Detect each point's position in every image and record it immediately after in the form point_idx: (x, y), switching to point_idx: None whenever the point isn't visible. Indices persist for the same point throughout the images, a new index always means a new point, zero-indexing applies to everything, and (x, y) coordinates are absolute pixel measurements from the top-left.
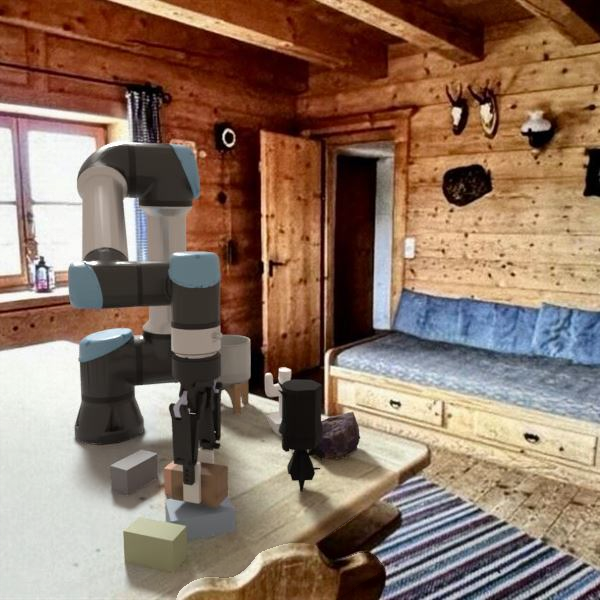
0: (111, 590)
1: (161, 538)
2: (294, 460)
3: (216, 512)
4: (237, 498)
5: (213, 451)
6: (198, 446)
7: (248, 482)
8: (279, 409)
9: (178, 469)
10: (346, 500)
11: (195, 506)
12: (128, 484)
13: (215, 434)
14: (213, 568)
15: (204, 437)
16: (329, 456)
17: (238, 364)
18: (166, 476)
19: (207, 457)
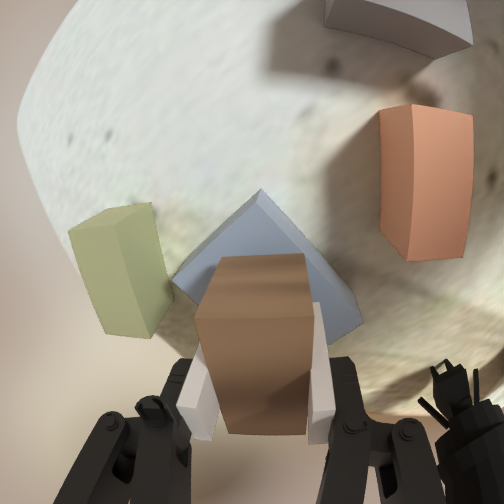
0: (65, 239)
1: (97, 314)
2: (449, 406)
3: None
4: (402, 291)
5: (321, 441)
6: (189, 492)
7: (463, 280)
8: None
9: (211, 342)
10: (405, 412)
11: None
12: (334, 15)
13: (377, 473)
14: (174, 344)
15: (324, 477)
16: None
17: None
18: (399, 114)
19: (309, 415)
